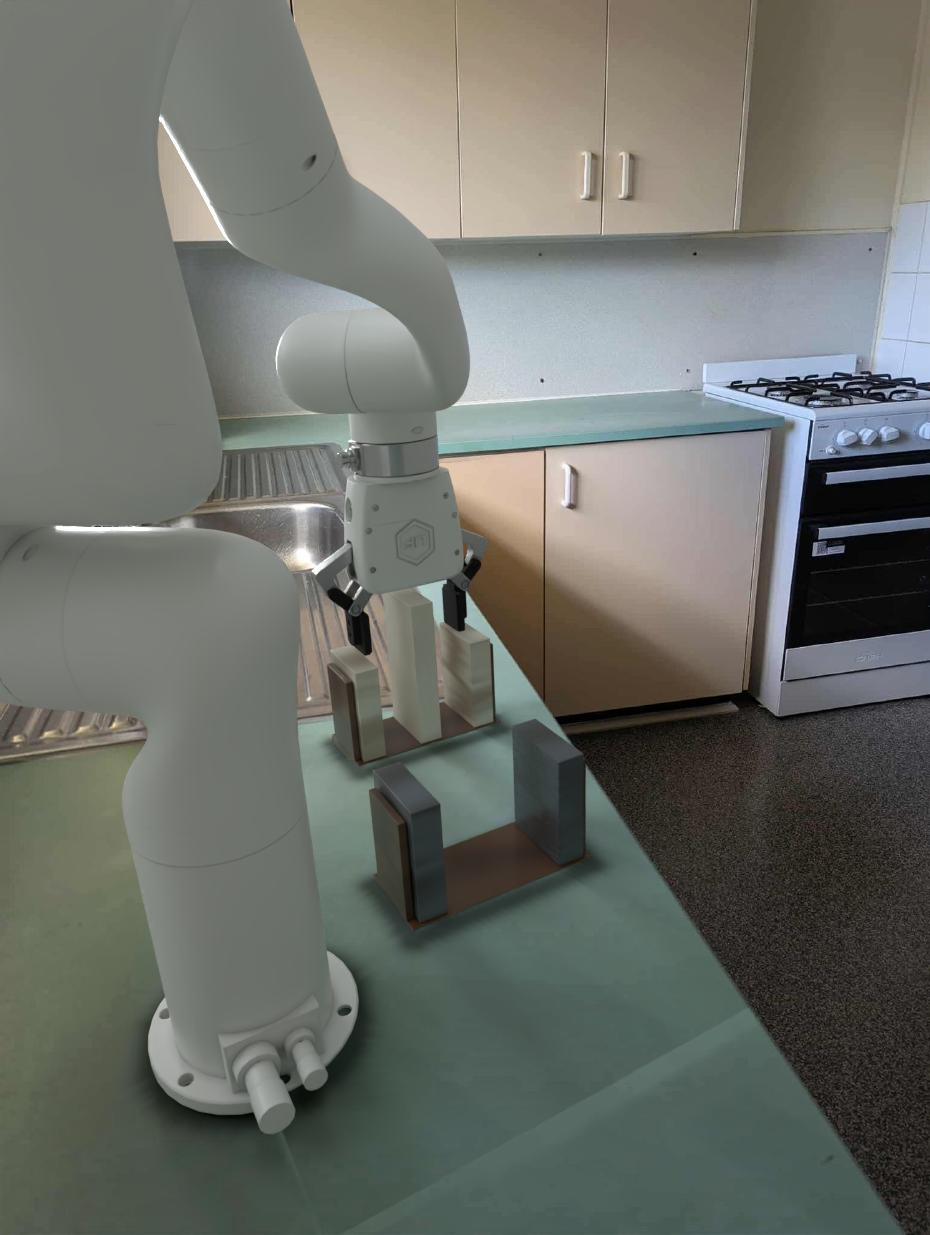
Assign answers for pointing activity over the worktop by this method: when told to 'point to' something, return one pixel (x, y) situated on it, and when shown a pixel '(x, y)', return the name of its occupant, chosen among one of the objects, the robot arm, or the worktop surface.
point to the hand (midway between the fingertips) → (409, 638)
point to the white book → (413, 663)
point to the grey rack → (494, 860)
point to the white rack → (380, 738)
